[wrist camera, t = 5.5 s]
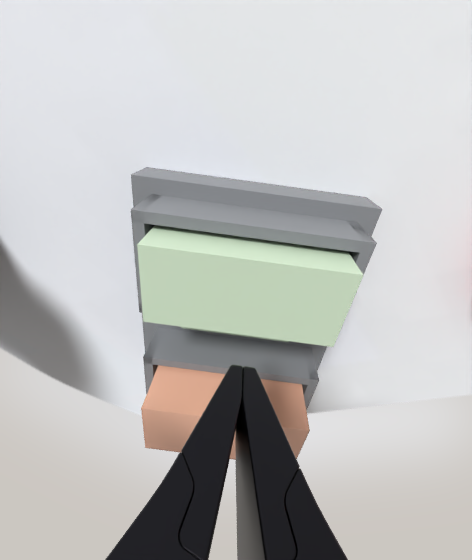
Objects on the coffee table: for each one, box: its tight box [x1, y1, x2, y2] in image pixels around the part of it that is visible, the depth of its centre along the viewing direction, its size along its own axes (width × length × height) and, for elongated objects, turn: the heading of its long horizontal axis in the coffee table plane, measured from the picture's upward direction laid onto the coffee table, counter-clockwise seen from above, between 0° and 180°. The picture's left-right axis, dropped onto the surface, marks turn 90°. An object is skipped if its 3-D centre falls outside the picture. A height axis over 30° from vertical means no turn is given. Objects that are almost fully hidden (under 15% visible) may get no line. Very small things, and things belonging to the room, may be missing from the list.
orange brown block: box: [141, 365, 310, 460], centre depth 19 cm, size 10×4×4 cm, turn 83°
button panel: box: [131, 167, 382, 410], centre depth 20 cm, size 14×18×6 cm
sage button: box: [137, 225, 363, 347], centre depth 15 cm, size 10×4×4 cm, turn 83°
